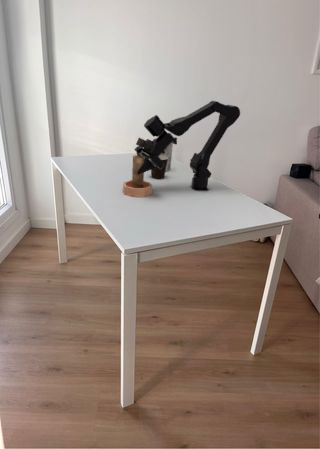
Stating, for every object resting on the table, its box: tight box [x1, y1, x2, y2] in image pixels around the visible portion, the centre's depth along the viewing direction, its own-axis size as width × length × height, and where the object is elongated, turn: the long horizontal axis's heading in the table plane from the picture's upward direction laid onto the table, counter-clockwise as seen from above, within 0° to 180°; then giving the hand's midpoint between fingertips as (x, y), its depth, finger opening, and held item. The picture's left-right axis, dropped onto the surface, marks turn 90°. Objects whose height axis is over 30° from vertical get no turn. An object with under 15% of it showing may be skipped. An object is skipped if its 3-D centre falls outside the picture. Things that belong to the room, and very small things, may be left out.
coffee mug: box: [150, 156, 168, 180], centre depth 160 cm, size 12×9×10 cm
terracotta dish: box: [122, 179, 153, 198], centre depth 138 cm, size 12×12×4 cm
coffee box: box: [152, 137, 174, 173], centre depth 171 cm, size 9×6×16 cm
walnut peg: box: [131, 154, 145, 188], centre depth 135 cm, size 5×5×13 cm
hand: (135, 172), depth 134 cm, fingers closed on walnut peg, 5 cm apart
